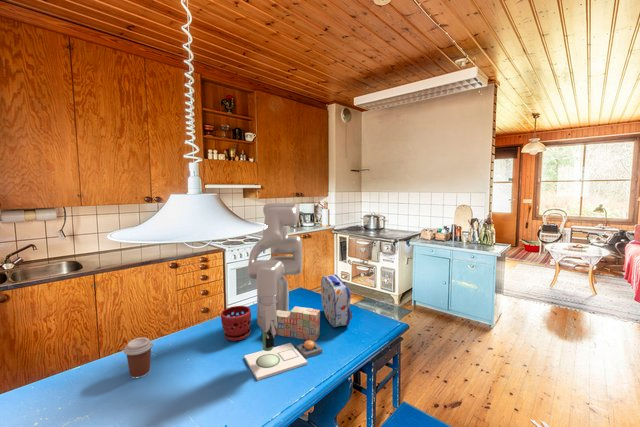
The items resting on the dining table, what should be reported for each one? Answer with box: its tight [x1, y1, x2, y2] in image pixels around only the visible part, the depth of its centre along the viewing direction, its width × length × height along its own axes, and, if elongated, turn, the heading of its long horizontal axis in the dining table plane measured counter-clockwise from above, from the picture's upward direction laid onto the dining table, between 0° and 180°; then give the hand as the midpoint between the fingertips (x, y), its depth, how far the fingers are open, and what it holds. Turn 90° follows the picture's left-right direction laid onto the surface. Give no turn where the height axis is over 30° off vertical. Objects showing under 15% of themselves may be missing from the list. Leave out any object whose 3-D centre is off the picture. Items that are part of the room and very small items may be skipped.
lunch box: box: [320, 274, 353, 328], centre depth 158 cm, size 28×10×22 cm, turn 15°
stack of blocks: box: [275, 305, 321, 342], centre depth 142 cm, size 21×6×12 cm, turn 72°
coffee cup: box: [123, 336, 154, 378], centre depth 113 cm, size 9×9×12 cm
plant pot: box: [220, 305, 252, 342], centre depth 141 cm, size 13×13×12 cm
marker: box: [261, 328, 274, 351], centre depth 119 cm, size 4×4×10 cm
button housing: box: [295, 341, 323, 359], centre depth 129 cm, size 8×8×2 cm
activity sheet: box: [243, 342, 308, 381], centre depth 122 cm, size 16×20×1 cm
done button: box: [303, 340, 315, 351], centre depth 129 cm, size 4×4×2 cm
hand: (267, 343), depth 119 cm, fingers closed on marker, 4 cm apart
